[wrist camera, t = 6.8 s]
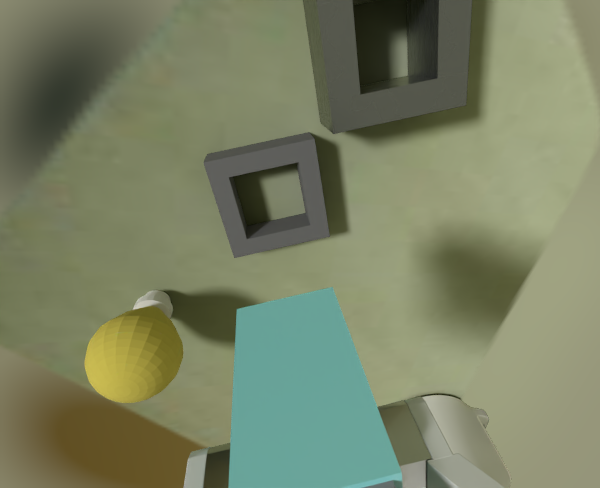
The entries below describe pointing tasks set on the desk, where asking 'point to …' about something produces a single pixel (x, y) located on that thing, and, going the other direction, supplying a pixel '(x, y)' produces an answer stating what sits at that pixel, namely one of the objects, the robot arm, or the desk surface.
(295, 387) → the plug
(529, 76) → the desk surface
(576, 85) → the desk surface
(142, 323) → the light bulb
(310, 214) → the frame
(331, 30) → the port
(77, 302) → the desk surface
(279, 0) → the desk surface
